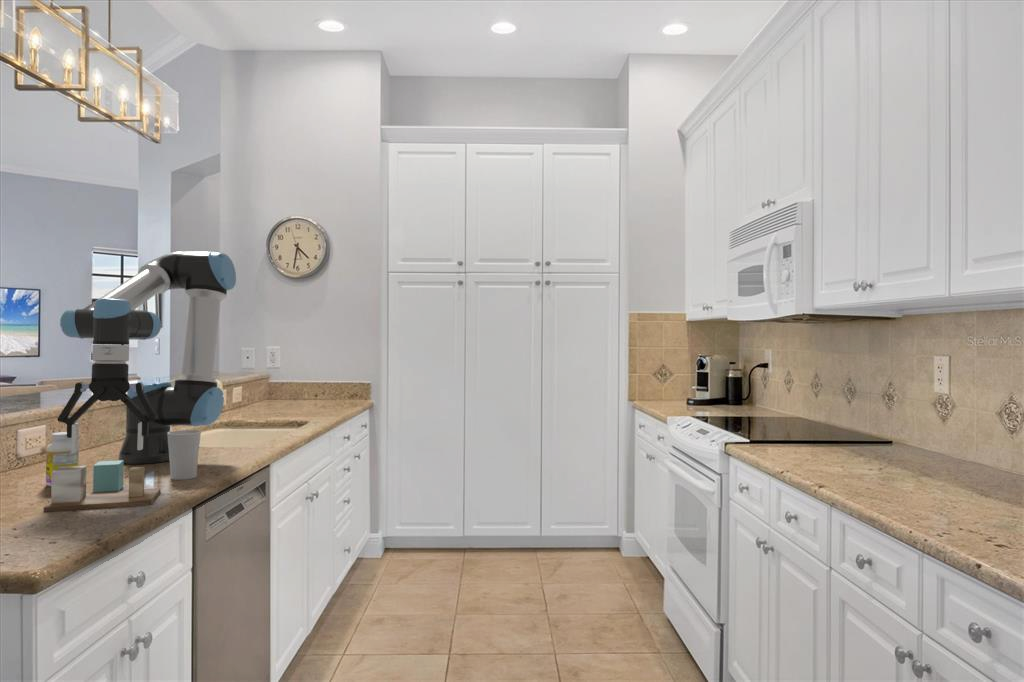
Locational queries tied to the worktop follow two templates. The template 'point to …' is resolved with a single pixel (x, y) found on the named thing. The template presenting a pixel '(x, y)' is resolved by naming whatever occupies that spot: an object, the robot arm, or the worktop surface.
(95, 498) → the peg board
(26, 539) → the worktop surface
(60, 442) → the supplement bottle
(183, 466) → the cup
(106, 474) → the turquoise rounded cube
